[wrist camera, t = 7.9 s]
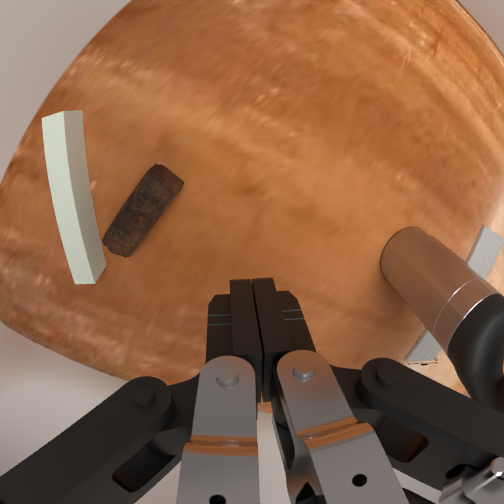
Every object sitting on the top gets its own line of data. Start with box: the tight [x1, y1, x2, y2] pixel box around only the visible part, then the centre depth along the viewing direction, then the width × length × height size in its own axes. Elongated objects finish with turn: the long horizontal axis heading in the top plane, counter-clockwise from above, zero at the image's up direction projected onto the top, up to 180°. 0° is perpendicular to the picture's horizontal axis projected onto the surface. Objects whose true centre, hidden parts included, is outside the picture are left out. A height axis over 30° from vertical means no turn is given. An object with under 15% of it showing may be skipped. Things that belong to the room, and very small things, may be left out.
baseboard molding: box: [405, 225, 504, 365], centre depth 44 cm, size 31×3×12 cm
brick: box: [102, 164, 184, 257], centre depth 29 cm, size 11×4×5 cm, turn 137°
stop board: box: [42, 110, 107, 284], centre depth 27 cm, size 3×20×4 cm, turn 0°
